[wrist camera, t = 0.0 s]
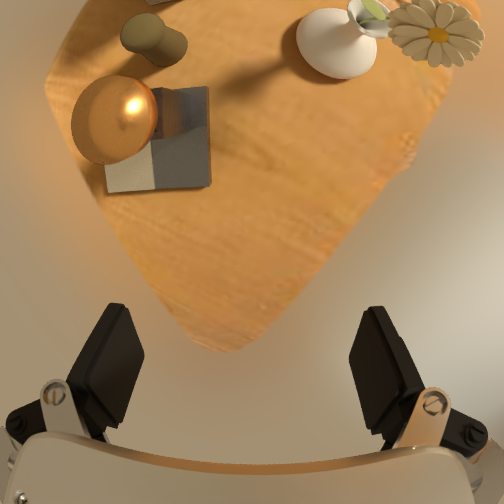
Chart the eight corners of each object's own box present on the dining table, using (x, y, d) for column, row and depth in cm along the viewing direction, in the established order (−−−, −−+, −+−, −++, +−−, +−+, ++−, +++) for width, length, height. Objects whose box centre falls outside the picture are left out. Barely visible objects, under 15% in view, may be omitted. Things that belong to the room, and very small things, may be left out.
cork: (150, 72, 30) (115, 61, 21) (144, 38, 28) (109, 19, 18) (190, 59, 30) (166, 42, 20) (184, 25, 27) (159, -1, 17)
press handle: (133, 91, 26) (69, 87, 15) (189, 83, 26) (147, 66, 14) (136, 146, 29) (75, 170, 18) (191, 140, 29) (151, 159, 18)
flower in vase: (279, 52, 29) (315, -35, 7) (318, -1, 25) (383, -96, 3) (358, 102, 32) (483, 107, 10) (392, 49, 27) (515, 20, 6)
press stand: (106, 103, 32) (48, 107, 20) (208, 87, 32) (183, 74, 20) (114, 188, 39) (64, 223, 27) (211, 183, 39) (190, 218, 26)
